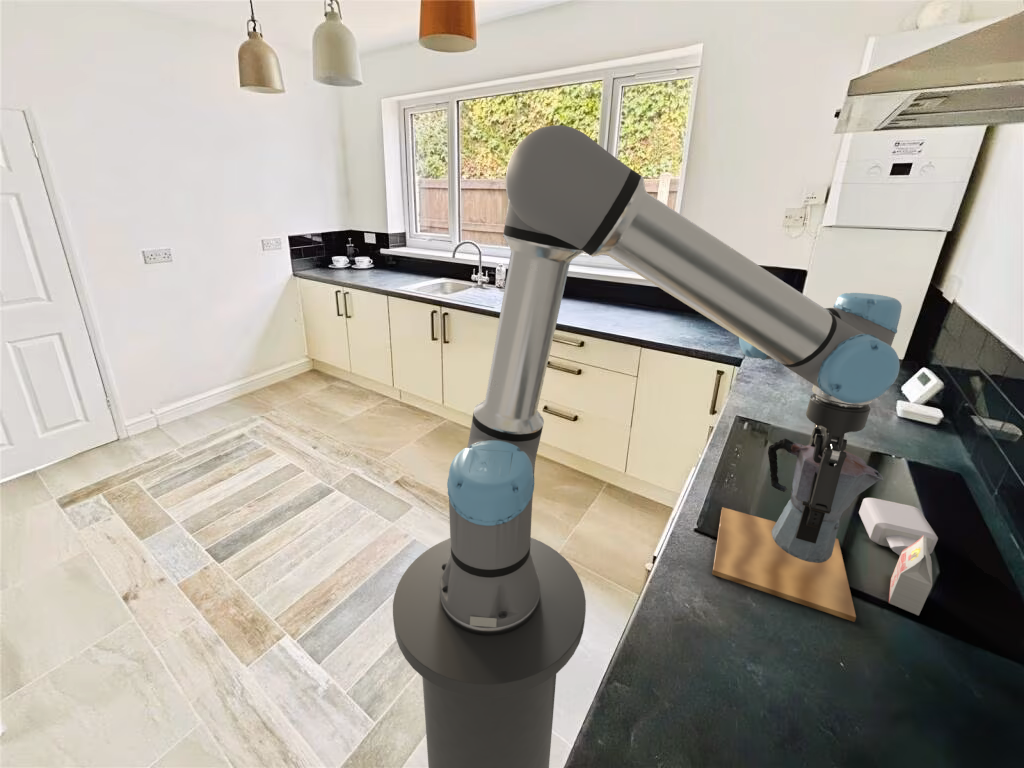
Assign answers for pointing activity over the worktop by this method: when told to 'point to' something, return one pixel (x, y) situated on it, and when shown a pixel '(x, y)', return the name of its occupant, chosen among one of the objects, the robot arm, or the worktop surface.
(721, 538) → the trivet
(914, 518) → the charger
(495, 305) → the worktop surface
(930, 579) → the white printed carton
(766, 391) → the worktop surface
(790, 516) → the moka pot
